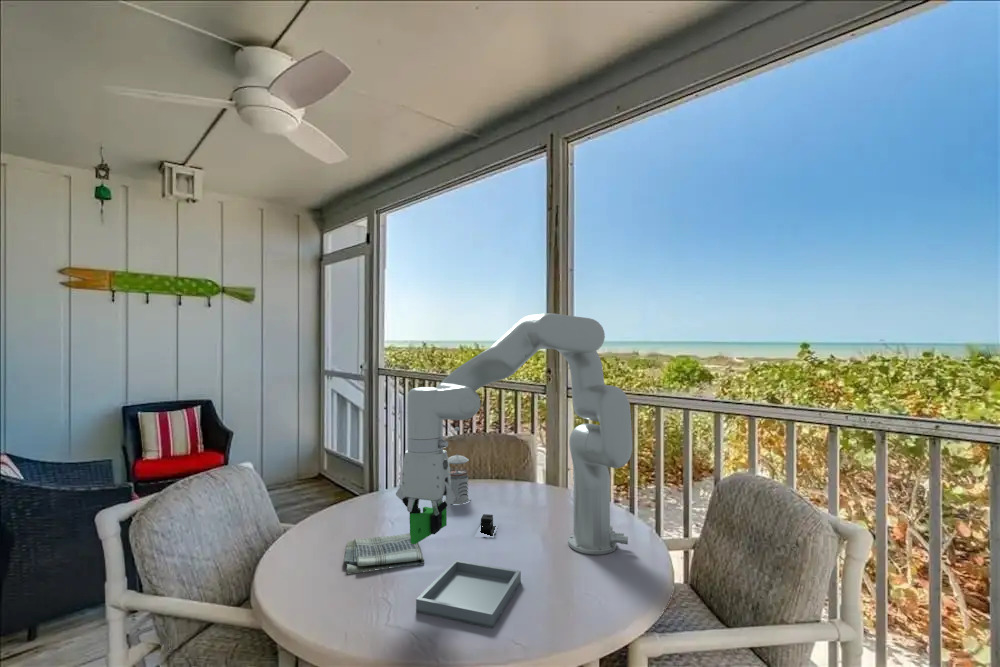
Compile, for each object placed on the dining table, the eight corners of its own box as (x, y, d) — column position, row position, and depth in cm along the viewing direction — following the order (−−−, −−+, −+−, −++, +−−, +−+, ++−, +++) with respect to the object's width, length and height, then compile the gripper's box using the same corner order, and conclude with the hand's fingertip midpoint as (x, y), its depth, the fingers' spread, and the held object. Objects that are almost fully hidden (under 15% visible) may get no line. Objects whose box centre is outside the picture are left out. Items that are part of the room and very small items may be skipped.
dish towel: (415, 538, 128) (415, 526, 129) (425, 566, 111) (425, 553, 111) (344, 546, 123) (344, 534, 123) (343, 578, 106) (343, 564, 106)
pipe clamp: (432, 523, 105) (433, 502, 105) (446, 525, 103) (446, 505, 104) (400, 540, 95) (400, 518, 95) (414, 544, 94) (414, 521, 94)
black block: (495, 542, 125) (495, 525, 126) (469, 540, 126) (469, 523, 127) (502, 525, 138) (502, 509, 138) (478, 524, 139) (478, 508, 139)
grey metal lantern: (476, 499, 160) (477, 426, 161) (456, 509, 150) (456, 431, 151) (454, 494, 165) (454, 423, 166) (432, 503, 155) (433, 428, 156)
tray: (520, 582, 103) (520, 570, 103) (492, 628, 86) (492, 614, 86) (455, 570, 108) (455, 559, 108) (416, 612, 91) (416, 599, 91)
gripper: (468, 443, 101) (468, 528, 100) (401, 439, 107) (401, 519, 106) (453, 451, 94) (453, 542, 93) (382, 446, 100) (382, 532, 99)
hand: (425, 529), depth 100 cm, fingers closed on pipe clamp, 4 cm apart
